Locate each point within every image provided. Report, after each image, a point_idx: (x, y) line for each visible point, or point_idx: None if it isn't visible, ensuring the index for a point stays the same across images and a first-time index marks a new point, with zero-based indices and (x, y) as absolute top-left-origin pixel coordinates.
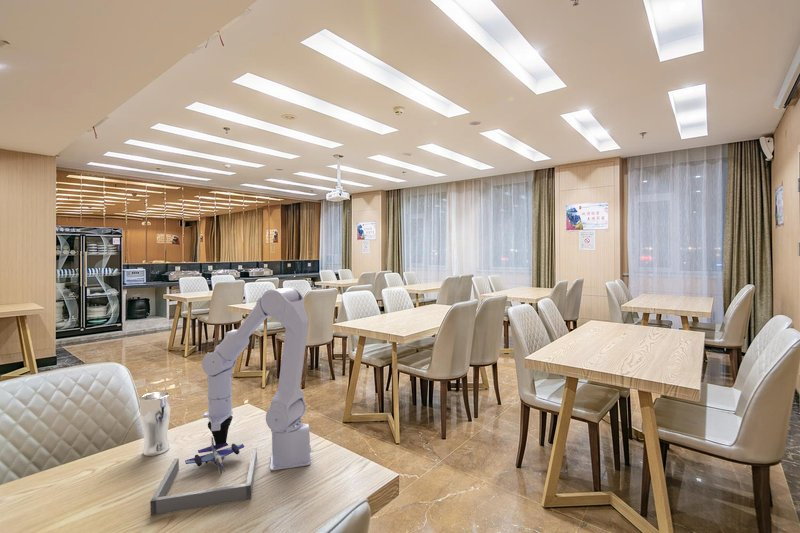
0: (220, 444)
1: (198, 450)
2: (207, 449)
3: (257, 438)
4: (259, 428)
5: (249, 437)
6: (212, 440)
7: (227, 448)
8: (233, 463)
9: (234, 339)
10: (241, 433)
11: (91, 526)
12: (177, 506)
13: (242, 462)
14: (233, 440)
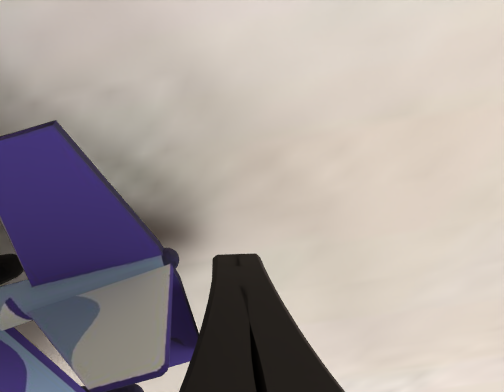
0: (179, 323)
1: (49, 134)
2: (70, 236)
3: (348, 380)
4: (484, 369)
5: (391, 348)
6: (84, 368)
7: (53, 388)
8: None
9: None
10: (491, 305)
11: None
12: None
13: None
14: (407, 281)
